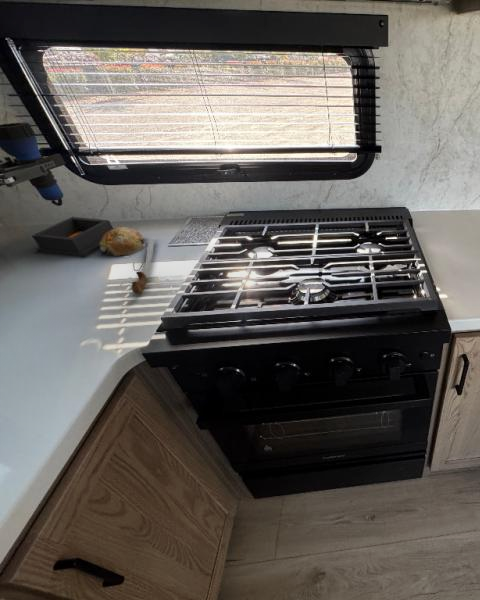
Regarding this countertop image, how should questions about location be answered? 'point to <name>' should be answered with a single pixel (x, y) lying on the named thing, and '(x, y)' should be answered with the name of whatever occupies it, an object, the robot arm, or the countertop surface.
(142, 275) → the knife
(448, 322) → the countertop surface
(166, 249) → the countertop surface
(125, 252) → the bread roll
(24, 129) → the flashlight
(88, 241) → the dark grey tray
